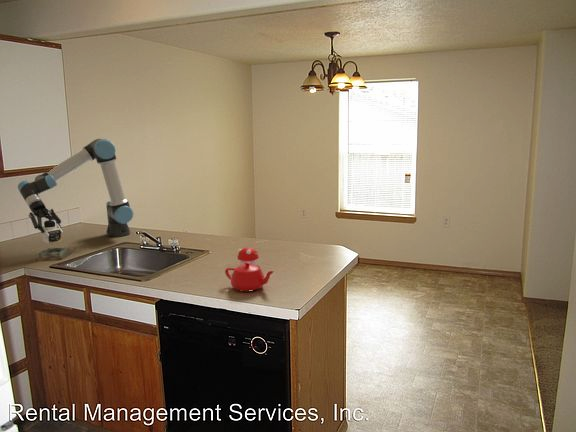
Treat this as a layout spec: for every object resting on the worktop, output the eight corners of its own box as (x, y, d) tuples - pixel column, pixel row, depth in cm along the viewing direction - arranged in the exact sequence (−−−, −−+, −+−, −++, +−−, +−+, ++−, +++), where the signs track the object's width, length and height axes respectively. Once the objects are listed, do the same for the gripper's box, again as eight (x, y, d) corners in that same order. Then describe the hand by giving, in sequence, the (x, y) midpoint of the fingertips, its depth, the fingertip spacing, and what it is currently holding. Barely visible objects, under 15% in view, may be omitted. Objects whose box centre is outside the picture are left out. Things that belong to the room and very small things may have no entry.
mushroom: (239, 266, 245) (238, 244, 243) (260, 266, 245) (259, 244, 242) (236, 273, 235) (235, 250, 232) (258, 273, 234) (257, 250, 232)
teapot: (217, 290, 212) (215, 264, 210) (234, 279, 226) (233, 255, 224) (267, 298, 202) (266, 270, 200) (282, 286, 216) (281, 260, 214)
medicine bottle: (49, 243, 263) (46, 222, 260) (42, 241, 267) (40, 221, 264) (61, 240, 268) (59, 220, 266) (55, 239, 272) (52, 218, 270)
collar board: (72, 252, 276) (71, 246, 276) (61, 259, 263) (60, 253, 262) (48, 253, 276) (47, 247, 275) (36, 260, 262) (35, 254, 262)
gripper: (50, 205, 280) (69, 235, 275) (15, 211, 264) (35, 243, 258) (54, 197, 276) (73, 227, 271) (19, 202, 260) (39, 234, 254)
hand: (54, 235), depth 265 cm, fingers closed on medicine bottle, 7 cm apart
